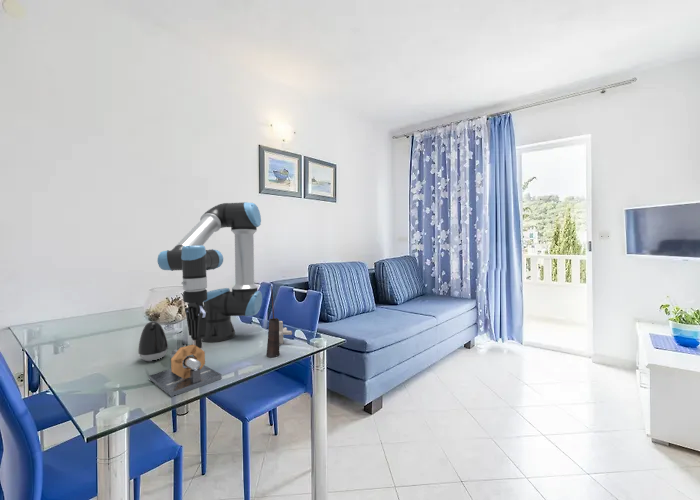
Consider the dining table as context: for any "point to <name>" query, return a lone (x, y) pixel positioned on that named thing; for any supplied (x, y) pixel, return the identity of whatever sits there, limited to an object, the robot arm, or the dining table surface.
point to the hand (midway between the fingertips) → (197, 356)
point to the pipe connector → (283, 332)
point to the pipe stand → (179, 385)
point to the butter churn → (273, 335)
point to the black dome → (152, 342)
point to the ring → (181, 355)
